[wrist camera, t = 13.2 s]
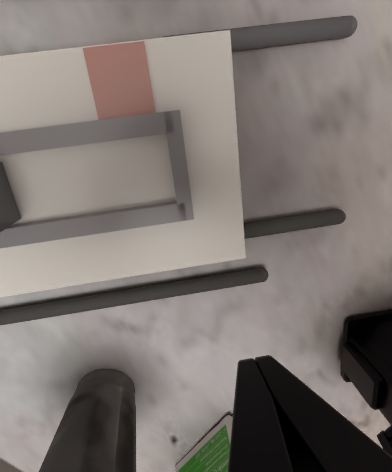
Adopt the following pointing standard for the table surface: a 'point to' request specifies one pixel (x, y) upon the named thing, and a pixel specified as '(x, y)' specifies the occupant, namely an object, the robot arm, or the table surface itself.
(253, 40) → the rod
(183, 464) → the skincare box
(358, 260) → the table surface
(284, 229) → the rod
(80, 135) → the breaker switch base
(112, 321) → the table surface
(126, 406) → the beverage cup
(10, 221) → the breaker toggle
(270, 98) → the table surface
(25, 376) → the table surface
